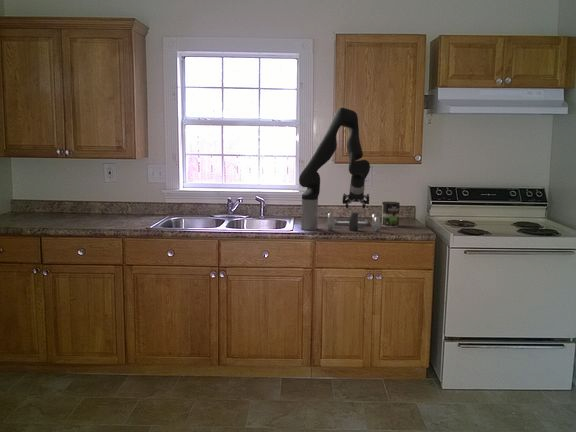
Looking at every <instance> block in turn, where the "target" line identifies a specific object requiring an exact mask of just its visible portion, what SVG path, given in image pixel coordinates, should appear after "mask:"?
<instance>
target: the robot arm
mask: <svg viewBox="0 0 576 432" xmlns="http://www.w3.org/2000/svg"><path fill="white" fill-rule="evenodd" d="M341 127H345V128H348V131H349V136H348V139H347V140H346V141H347V142H346V148H347V152H348V158H349V161H348V172H349V174H350V175H351V177H350V183H349V193H348V194H346V193H343V194H342V200H341V201H342V204H343V205H344V204H345V208H346V209H349V204H352V203H360V204H362V207H361V208H362V209H363V210H364V209H366V205H369V204H370V194H369V193H367V194H366V195H365V186H366V185H365V183H366V178H367V176H368V175H369V173H370V170H371V164H370V162H369V160H366V159H362V158H363V156H364V153H363V148H362V146H361V145H362V144H361V140H360V129H359V119H358V114H357V112H356V111H355V110H352V109H349V108H346V107H345V108H344V107H339V108H338V109H337V111H336V112H335V114H334V115H333V118H332V120H331V122H330V125H329V126H328V129H327V130H326V133H325V135H324V136H323V138H322V140H321V141H320V142H319V144H318V146H317V148H316V150H315V151H314V153H313V155H312V157H311V158H310V160H309V162H308V163H307V165H306V166H305V167H304V169H303V170H302V171H301V173H300V175H299V179H298V182H299V185H300V186H301V187H302V188H306V190H305V192H303V193H302V194H301V215H300V216H301V222H300V225H301V226H300V227H301V230H304V231H305V230H306V231H314V230H317V229H318V228H319V227H318V226H319V224H318V223H319V222H318V220H319V219H318V217H319V214H318V213H319V195H320V192H321V176H320V173H319V172H318V171H319V170H320V169H321V168H322V167H323V166H324V165H325V164H327V163H328V162H329V161H330V160H331V158H332V157H333V155H334V154H335V152H336V150H337V146H338V142H337V135H338V132H339V129H340V128H341ZM360 159H361V160H360Z"/></svg>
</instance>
